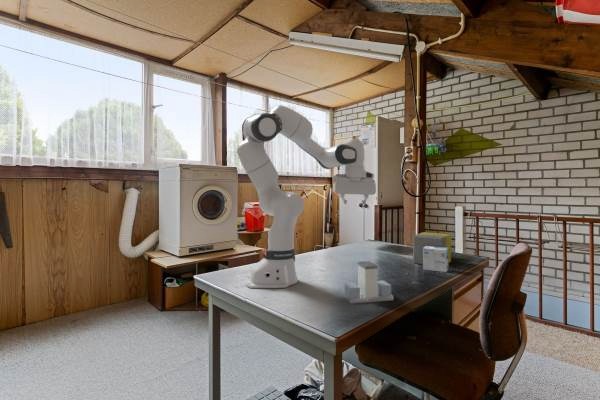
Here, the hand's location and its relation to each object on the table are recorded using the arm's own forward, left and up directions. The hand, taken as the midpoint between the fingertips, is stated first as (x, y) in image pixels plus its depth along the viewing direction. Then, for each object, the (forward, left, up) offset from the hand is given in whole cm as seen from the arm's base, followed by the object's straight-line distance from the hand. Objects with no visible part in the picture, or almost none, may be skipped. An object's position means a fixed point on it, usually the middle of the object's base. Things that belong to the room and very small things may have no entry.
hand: (354, 204), depth 145 cm
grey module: (-7, -32, -31) cm, 45 cm away
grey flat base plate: (-7, -32, -33) cm, 46 cm away
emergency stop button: (+51, +12, -33) cm, 61 cm away
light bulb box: (+41, -3, -33) cm, 52 cm away
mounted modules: (-7, -32, -31) cm, 45 cm away
